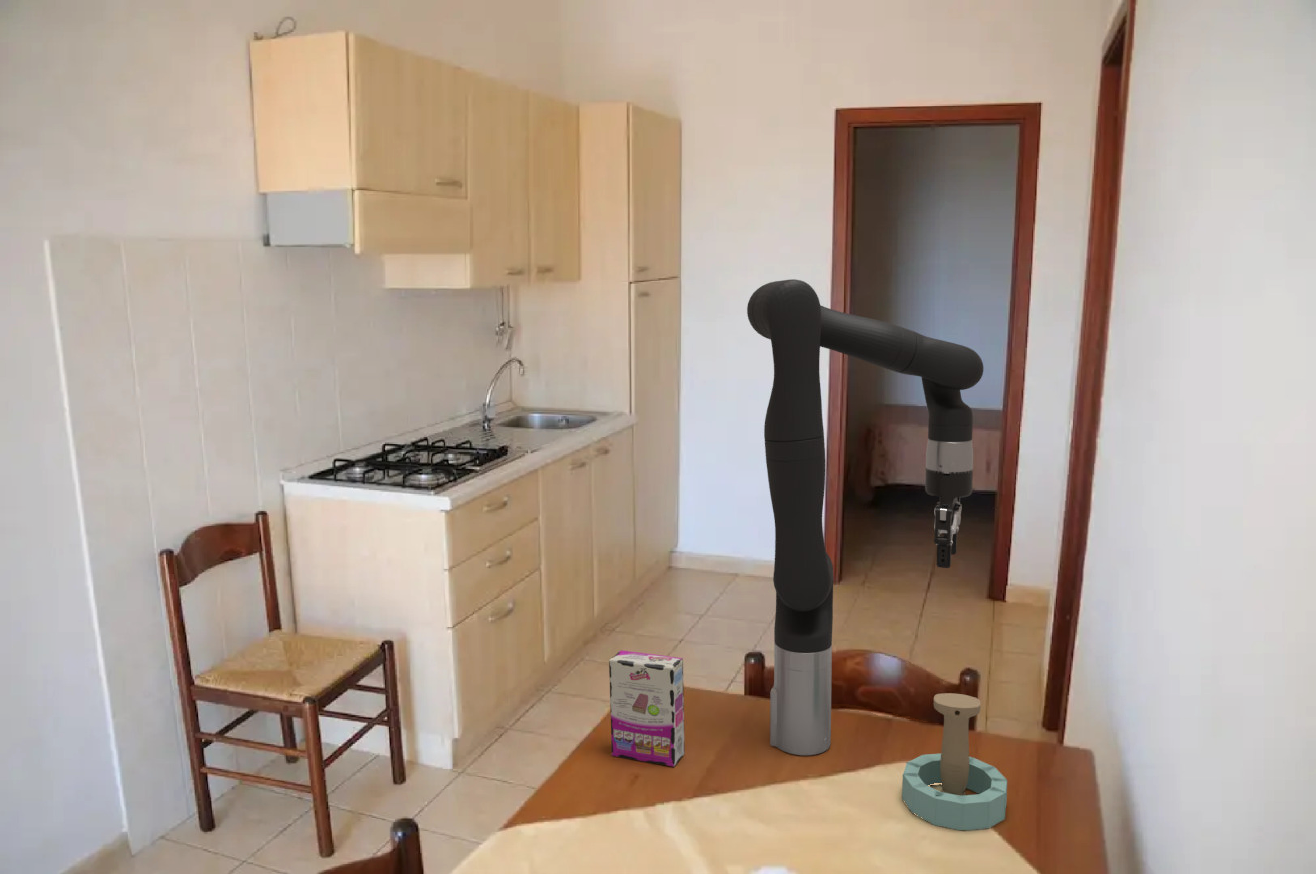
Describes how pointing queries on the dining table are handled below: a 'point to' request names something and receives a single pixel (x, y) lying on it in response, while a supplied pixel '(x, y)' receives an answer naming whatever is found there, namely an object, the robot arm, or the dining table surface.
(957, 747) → the handle
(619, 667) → the candy bar box
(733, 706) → the dining table surface
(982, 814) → the notched ring
